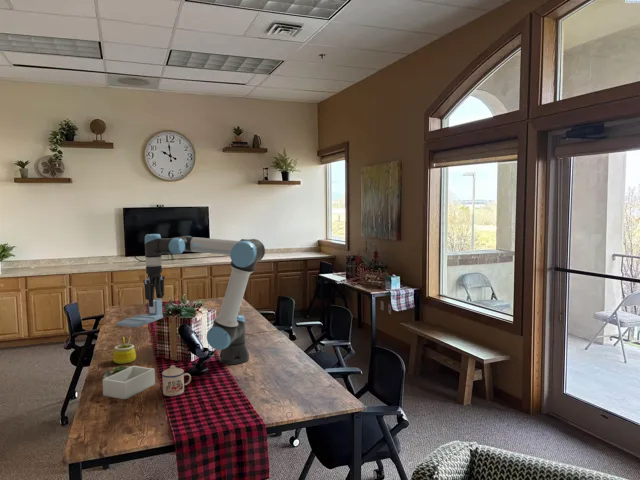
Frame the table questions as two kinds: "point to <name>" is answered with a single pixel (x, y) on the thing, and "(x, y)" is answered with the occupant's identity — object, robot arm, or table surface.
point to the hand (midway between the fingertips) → (155, 311)
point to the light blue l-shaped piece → (144, 316)
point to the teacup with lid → (174, 381)
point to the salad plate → (114, 371)
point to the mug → (124, 353)
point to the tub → (128, 382)
